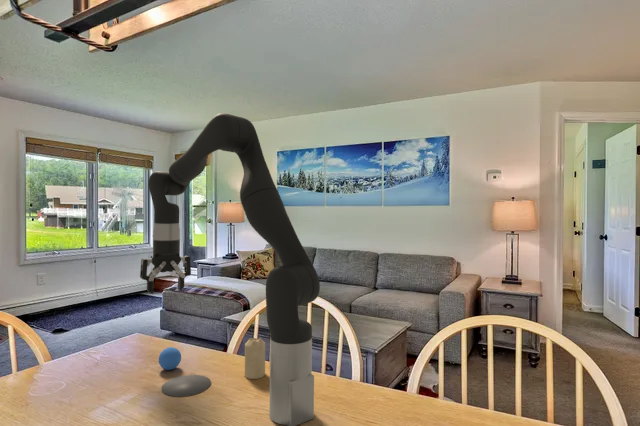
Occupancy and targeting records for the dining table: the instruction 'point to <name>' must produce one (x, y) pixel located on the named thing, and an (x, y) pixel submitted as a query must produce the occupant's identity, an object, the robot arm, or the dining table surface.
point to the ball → (169, 358)
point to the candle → (254, 358)
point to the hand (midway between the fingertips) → (165, 291)
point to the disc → (186, 385)
